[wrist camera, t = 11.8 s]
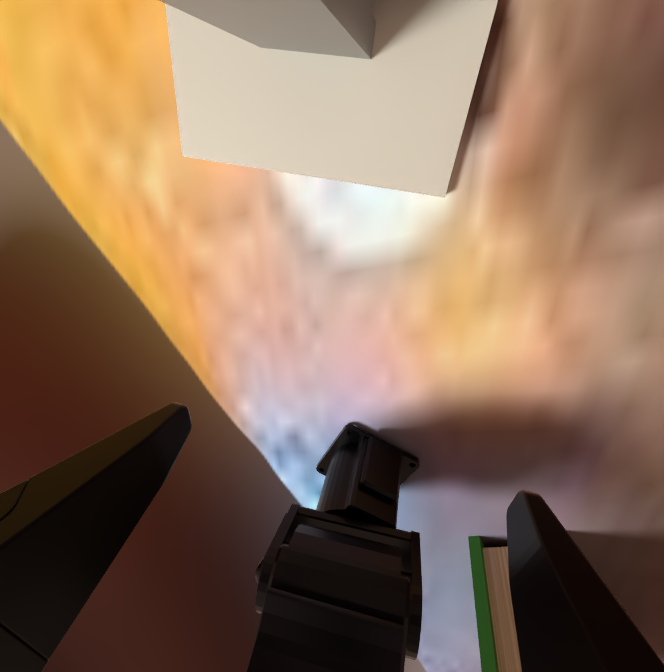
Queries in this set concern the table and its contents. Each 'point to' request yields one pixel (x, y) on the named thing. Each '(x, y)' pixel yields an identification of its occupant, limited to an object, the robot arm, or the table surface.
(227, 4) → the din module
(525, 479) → the table surface
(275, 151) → the board
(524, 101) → the table surface
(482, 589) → the hardback book
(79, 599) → the robot arm
